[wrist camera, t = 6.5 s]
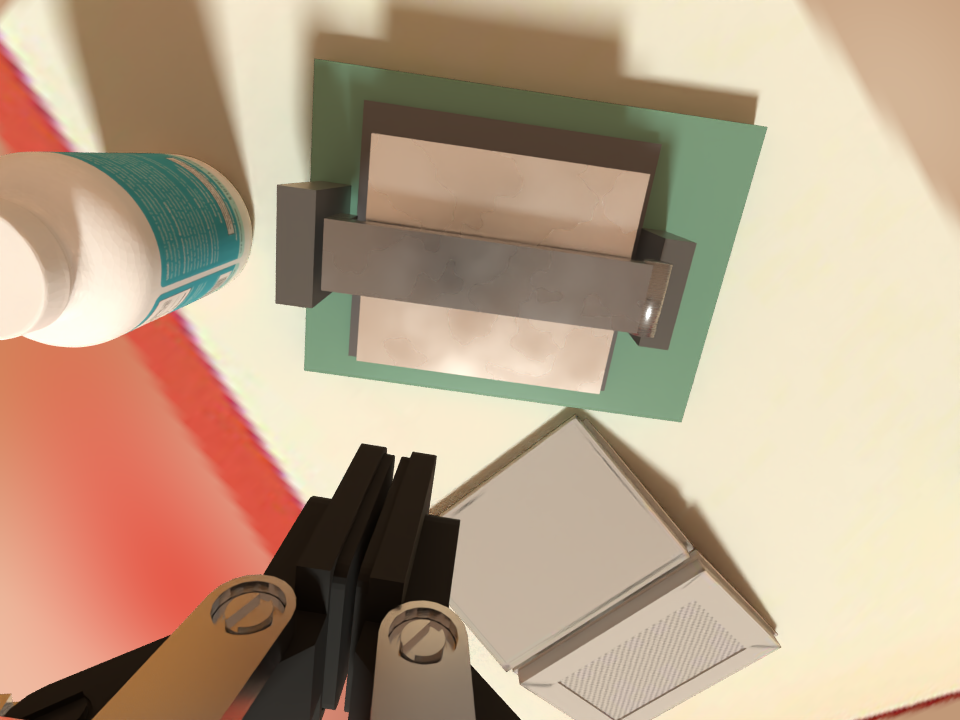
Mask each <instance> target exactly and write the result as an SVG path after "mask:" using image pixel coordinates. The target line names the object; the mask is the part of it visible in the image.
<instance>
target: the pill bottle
mask: <svg viewBox="0 0 960 720" xmlns="http://www.w3.org/2000/svg"><path fill="white" fill-rule="evenodd" d="M251 246H252V226H251V220H250V216H249V213H248V210H247V208H246V205H245V203H244V201H243V200H242V198H241V196H240V194H239V193H238V191H237V190H236V189H235V187H234V186H233V185H232V184H231V183H230V181H229V180H228V179H227V178H226V177H224V176H223V175H222V174H221V173H220V172H218V171H217V170H216V169H214V168H213V167H211V166H210V165H208V164H206V163H204V162H202V161H200V160H198V159H195V158H192V157H188V156H184V155H179V154H162V153H80V152H18V153H12V154H6V155H2V156H0V340H5V339H10V338H15V337H18V336H21V335H22V336H24V337H26V338H29V339H31V340H34V341H38V342H41V343H44V344H49V345H54V346H63V347H85V346H91V345H97V344H101V343H104V342H107V341H110V340H112V339H115V338H117V337H119V336H121V335H124V334H126V333H128V332H130V331H132V330H134V329H136V328H138V327H140V326H143V325H145V324H147V323H149V322H151V321H153V320H156V319H158V318H160V317H162V316H164V315H166V314H168V313H170V312H173V311H175V310H177V309H179V308H181V307H183V306H186V305H188V304H190V303H192V302H194V301H196V300H199V299H201V298H203V297H205V296H207V295H209V294H211V293H213V292H215V291H217V290H219V289H221V288H223V287H225V286H227V285H228V284H229V283H231V282H232V281H233V280H234V279H235V278H236V277H237V276H238V275H239V274H240V273H241V271H242V270H243V268H244V266H245V265H246V263H247V260H248V258H249V255H250V251H251Z"/></svg>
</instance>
